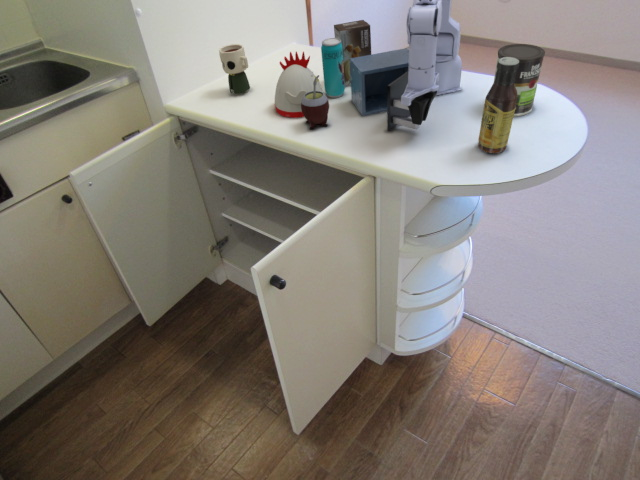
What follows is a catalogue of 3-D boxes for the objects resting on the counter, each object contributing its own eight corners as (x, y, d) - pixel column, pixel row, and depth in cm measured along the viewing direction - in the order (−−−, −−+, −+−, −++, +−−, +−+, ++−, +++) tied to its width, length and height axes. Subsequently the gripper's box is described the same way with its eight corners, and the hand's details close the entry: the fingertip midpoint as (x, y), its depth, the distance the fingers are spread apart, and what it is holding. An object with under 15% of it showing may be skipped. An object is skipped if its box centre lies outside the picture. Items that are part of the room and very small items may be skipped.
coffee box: (366, 74, 143) (364, 18, 132) (372, 81, 138) (371, 25, 127) (337, 79, 142) (333, 24, 131) (343, 87, 137) (339, 30, 126)
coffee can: (541, 108, 116) (555, 51, 107) (510, 120, 113) (521, 62, 104) (510, 95, 123) (521, 40, 114) (480, 106, 120) (488, 50, 111)
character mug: (219, 93, 142) (209, 49, 134) (235, 84, 146) (226, 41, 138) (245, 99, 137) (235, 55, 128) (261, 90, 141) (253, 46, 132)
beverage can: (343, 99, 131) (340, 44, 121) (323, 99, 132) (318, 45, 122) (346, 90, 135) (343, 37, 125) (327, 90, 136) (322, 37, 126)
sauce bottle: (473, 142, 107) (485, 55, 94) (500, 139, 107) (516, 51, 94) (483, 157, 102) (497, 67, 89) (511, 153, 102) (530, 63, 89)
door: (445, 110, 120) (449, 66, 112) (414, 137, 111) (416, 91, 103) (418, 105, 123) (420, 61, 116) (387, 130, 115) (387, 85, 107)
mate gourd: (312, 116, 125) (306, 60, 115) (338, 121, 121) (334, 63, 111) (297, 129, 120) (289, 71, 110) (324, 134, 117) (318, 75, 107)
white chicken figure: (323, 116, 124) (318, 59, 114) (273, 119, 125) (263, 64, 116) (325, 94, 135) (320, 40, 125) (278, 97, 136) (270, 44, 126)
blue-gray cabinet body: (419, 104, 124) (421, 60, 116) (362, 116, 122) (360, 71, 114) (405, 90, 131) (406, 48, 124) (351, 101, 129) (349, 58, 122)
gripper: (423, 80, 95) (420, 139, 104) (453, 55, 103) (448, 112, 112) (392, 74, 98) (392, 132, 107) (424, 51, 107) (421, 106, 115)
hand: (419, 121), depth 110 cm, fingers closed on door, 2 cm apart
